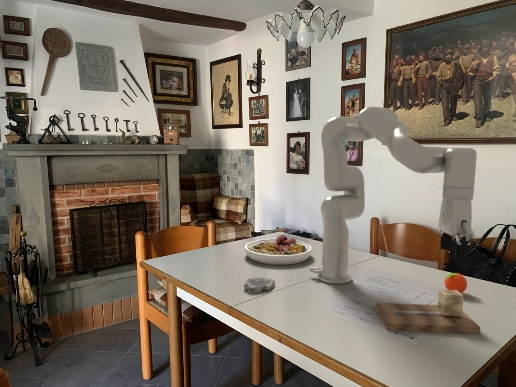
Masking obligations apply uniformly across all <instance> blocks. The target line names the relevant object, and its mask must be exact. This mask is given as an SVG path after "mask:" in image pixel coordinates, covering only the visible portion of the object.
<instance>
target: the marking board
mask: <svg viewBox="0 0 516 387" xmlns="http://www.w3.org/2000/svg"><path fill="white" fill-rule="evenodd" d="M375 311H376V313H377V314H378V316H379V318H380V320H381V321H382V323H383V325H384V327H385V329H386V330H387V331H389V332H390V331H395V332H397V331H399V332H417V333H418V332H419V333H420V332H421V333H439V334H440V333H443V334H447V333H448V334H466V335H471V334H472V335H480V333H481V326H479V324H478V323H476V321H474V320H473V319H472V318H471V317H470V316H469V315H468V314H467V313H465V312H464V310H462V316H443V315H442V314H441V313H440V311H439V310H438V304H421V303H419V304H417V303H393V302H391V303H390V302H389V303H387V302H375Z"/></svg>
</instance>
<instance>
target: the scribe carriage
mask: <svg viewBox="0 0 516 387" xmlns="http://www.w3.org/2000/svg"><path fill="white" fill-rule="evenodd" d="M437 302H438V303H437V305H438V310H439V311H440V313H441V314H442V315H443V316H462V311H463V306H464V295H463V293H460V292H458V291H457V290H447V289H438V301H437Z"/></svg>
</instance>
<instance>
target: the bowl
mask: <svg viewBox="0 0 516 387" xmlns="http://www.w3.org/2000/svg"><path fill="white" fill-rule="evenodd" d="M244 251H245V253H246V255H247V257H248V258H249V259H250V260H252V261H255V262H256V263H261V264H265V265H273V266H275V265H276V266H283V265H285V266H286V265H287V266H288V265H295V264H299V263H302V262H304V261H306V260H307V259H309V257H310V256H311V254H312V251H313V250H312V246H311V245H310V244H309V243H306V242H303V241H299V240H296V239H295V238H294V237H289V238H288V236H287V235H285V234H280V235H278V236H277V237H276V238H268V239H267V238H266V239H257V240H254V241H249V242H247V243H246V244H245V246H244Z"/></svg>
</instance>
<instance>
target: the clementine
mask: <svg viewBox="0 0 516 387" xmlns="http://www.w3.org/2000/svg"><path fill="white" fill-rule="evenodd" d="M444 287H445V288H446V290H457V291H458V292H460V293H461V294H463V293H464V292H465V291H466V290H467V287H468V281H467V279H466V278H465V276H464V275H462V274H461V273H458V272H451V273H449V274H447V276H445V279H444Z"/></svg>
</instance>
